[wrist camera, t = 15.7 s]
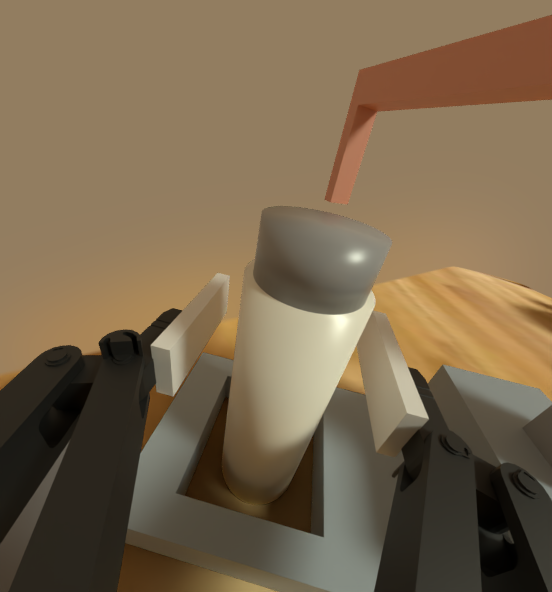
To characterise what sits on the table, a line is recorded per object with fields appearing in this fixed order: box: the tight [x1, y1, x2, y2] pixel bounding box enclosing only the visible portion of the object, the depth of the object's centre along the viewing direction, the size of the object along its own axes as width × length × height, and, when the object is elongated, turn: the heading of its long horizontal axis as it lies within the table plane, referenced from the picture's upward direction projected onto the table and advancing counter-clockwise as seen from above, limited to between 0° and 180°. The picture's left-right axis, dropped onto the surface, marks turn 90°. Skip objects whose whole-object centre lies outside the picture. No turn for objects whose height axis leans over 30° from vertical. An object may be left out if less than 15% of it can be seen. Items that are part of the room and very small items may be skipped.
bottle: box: [221, 206, 392, 505], centre depth 11 cm, size 5×5×15 cm
